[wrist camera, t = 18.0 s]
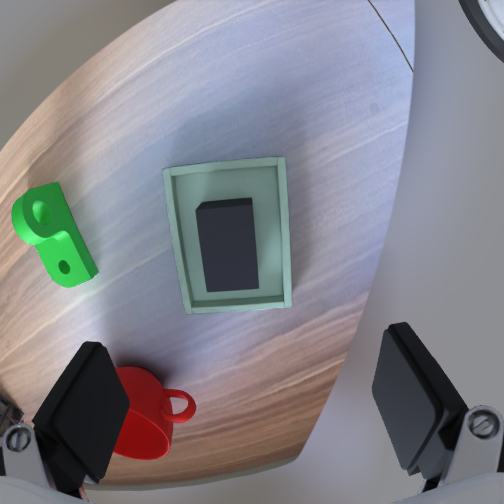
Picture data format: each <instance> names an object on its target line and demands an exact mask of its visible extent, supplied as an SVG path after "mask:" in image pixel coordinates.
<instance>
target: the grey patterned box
mask: <svg viewBox="0 0 504 504" xmlns="http://www.w3.org/2000/svg"><path fill="white" fill-rule="evenodd" d="M24 415H25V414H24V413H23V412H21V411H20V410H19V409H18V408H16V407H15V406H14V405H13V404H11V403H10V402H9V401H8V400H6V399H5V398H4V397H3V396H2V395H1V394H0V447H1V446H2V438H3V435H4V433H5V432H6V431H7V429H9V428H10V427H11V426H13V425H15V424H18V423H24V421H23V420H22V419H23V418H24Z"/></svg>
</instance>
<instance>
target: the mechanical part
mask: <svg viewBox="0 0 504 504" xmlns="http://www.w3.org/2000/svg"><path fill="white" fill-rule="evenodd" d="M11 216H12V223H13V226H14V229H15V231H16V232H17V234H18V235H19V237H20V238H21V239H22V240H24V241H25V242H27V243H29V244H32V245H35V247H36V249H37V251H38V253H39V255H40V257H41V259H42V261H43V263H44V265H45V267H46V269H47V271H48V273H49V275H50V276H51V278H52V279H53V280H54V281H55V282H56V283H58V284H59V285H61V286H63V287H68V288H69V287H74V286H76V285H79V284H81V283H83V282H86V281H88V280H90V279H92V278H93V277H94V276H95V275H96V274H97V273H98V270H97V268H96V266H95V264H94V262H93V260H92V258H91V256H90V254H89V252H88V250H87V248H86V246H85V244H84V242H83V240H82V238H81V235H80V233H79V231H78V229H77V227H76V224H75V222H74V220H73V218H72V215H71V213H70V211H69V208H68V206H67V203H66V201H65V198H64V196H63V193H62V191H61V188H60V186H59V183H58V182H55V183H51V184H47V185H44V186H40V187H36V188H33V189H30V190H28V191H27V192H26V193H25V194H23V195H22V196H21V197H20V198H18V199H17V200H16V201H15V203H14V204H13V207H12V213H11ZM68 264H69V265H68Z"/></svg>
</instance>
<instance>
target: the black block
mask: <svg viewBox="0 0 504 504" xmlns="http://www.w3.org/2000/svg"><path fill="white" fill-rule="evenodd" d="M195 213H196V221H197V229H198V236H199V243H200V250H201V257H202V264H203V271H204V277H205V284H206V290H207V293H208V292H223V291H237V290H250V289H259V277H258V265H257V252H256V240H255V227H254V215H253V203H252V197H249V198H237V199H226V200H216V201H205V202H202V203H201V204H200V205H199V206H198V207H197V208H196V210H195Z"/></svg>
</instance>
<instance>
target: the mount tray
mask: <svg viewBox="0 0 504 504" xmlns="http://www.w3.org/2000/svg"><path fill="white" fill-rule="evenodd" d="M162 173H163V181H164V189H165V197H166V204H167V211H168V218H169V225H170V231H171V237H172V244H173V250H174V255H175V261H176V267H177V272H178V278H179V283H180V288H181V293H182V298H183V303H184V308H185V313H186V314H199V313H218V312H234V311H249V310H262V309H274V308H284V307H285V308H287V307H292V282H291V252H290V228H289V208H288V190H287V173H286V158H285V157H284V156H277V157H261V158H248V159H236V160H226V161H216V162H207V163H198V164H190V165H182V166H175V167H168V168H164V169H162ZM249 197H252V203H253V215H254V227H255V240H256V252H257V265H258V277H259V289H250V290H237V291H223V292H208V293H207V290H206V284H205V277H204V271H203V264H202V257H201V250H200V243H199V236H198V229H197V221H196V213H195V210H196V208H197V207H198V206H199V205H200V204H201V203H202V202H205V201H216V200H226V199H237V198H249Z"/></svg>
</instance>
